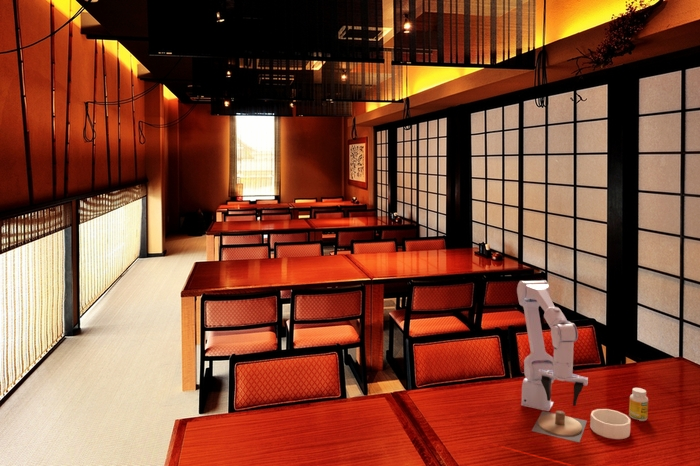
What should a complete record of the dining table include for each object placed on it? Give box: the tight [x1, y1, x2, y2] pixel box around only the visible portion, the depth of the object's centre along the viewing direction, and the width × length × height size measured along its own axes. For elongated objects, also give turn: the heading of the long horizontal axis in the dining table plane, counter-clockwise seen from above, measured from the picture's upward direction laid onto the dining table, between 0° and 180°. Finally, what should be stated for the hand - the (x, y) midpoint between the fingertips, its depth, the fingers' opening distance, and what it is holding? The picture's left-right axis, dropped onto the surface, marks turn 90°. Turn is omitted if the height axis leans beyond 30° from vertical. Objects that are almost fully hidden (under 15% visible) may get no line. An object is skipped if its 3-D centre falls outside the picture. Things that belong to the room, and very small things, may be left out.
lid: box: [537, 410, 582, 436], centre depth 166 cm, size 13×13×4 cm
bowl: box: [589, 408, 632, 440], centre depth 163 cm, size 11×11×5 cm
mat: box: [531, 410, 588, 444], centre depth 166 cm, size 14×16×1 cm
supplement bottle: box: [628, 387, 649, 422], centre depth 172 cm, size 5×5×10 cm
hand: (561, 402), depth 166 cm, fingers open, 7 cm apart
